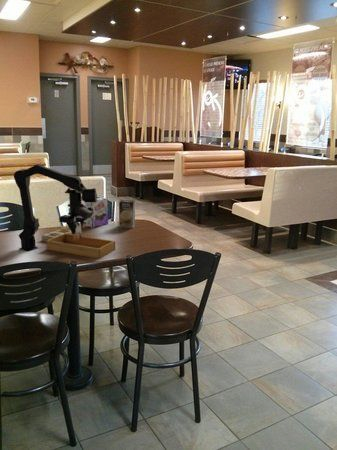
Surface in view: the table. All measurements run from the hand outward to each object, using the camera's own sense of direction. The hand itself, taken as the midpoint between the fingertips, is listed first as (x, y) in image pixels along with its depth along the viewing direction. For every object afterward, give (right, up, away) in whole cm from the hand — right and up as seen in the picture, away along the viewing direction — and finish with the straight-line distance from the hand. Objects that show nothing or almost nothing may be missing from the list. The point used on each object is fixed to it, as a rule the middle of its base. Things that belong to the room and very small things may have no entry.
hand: (76, 232), depth 202 cm
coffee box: (+20, +3, +48) cm, 52 cm away
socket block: (-14, -3, +21) cm, 25 cm away
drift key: (-12, -2, +25) cm, 28 cm away
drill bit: (0, -3, +1) cm, 4 cm away
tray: (+2, -9, +1) cm, 10 cm away
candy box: (+1, +4, +50) cm, 50 cm away
